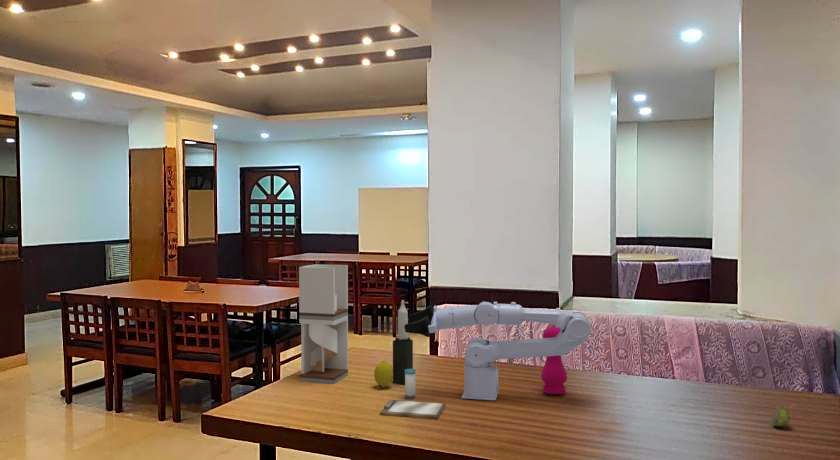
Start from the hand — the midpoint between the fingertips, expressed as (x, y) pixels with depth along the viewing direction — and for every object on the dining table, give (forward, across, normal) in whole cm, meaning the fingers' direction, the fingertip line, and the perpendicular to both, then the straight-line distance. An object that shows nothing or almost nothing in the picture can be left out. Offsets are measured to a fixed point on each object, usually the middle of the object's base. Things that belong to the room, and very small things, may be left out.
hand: (407, 323), depth 177 cm
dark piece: (+6, -6, +21) cm, 23 cm away
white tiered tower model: (+31, -7, +17) cm, 36 cm away
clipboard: (-2, +19, +17) cm, 26 cm away
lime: (-89, +19, +32) cm, 97 cm away
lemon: (+11, 0, +19) cm, 22 cm away
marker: (+1, +9, +18) cm, 20 cm away
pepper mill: (-38, -1, +26) cm, 46 cm away
